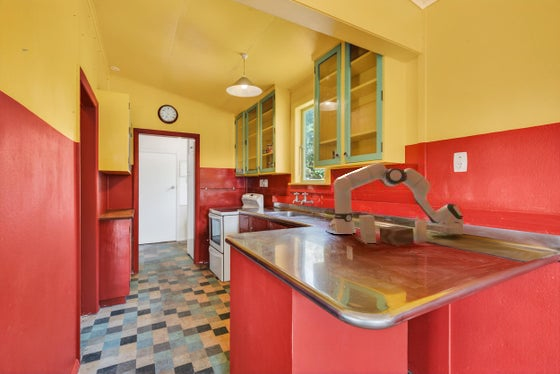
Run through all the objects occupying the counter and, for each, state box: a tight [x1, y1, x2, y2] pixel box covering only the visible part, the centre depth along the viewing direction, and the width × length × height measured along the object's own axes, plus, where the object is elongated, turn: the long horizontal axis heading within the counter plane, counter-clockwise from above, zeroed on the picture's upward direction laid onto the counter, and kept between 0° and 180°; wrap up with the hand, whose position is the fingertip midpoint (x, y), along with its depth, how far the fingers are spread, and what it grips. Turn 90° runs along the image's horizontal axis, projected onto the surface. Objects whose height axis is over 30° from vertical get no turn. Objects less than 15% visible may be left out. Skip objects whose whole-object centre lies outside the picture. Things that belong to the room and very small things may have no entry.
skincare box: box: [358, 214, 377, 244], centre depth 143 cm, size 8×7×16 cm
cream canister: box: [414, 220, 428, 243], centre depth 141 cm, size 6×6×11 cm
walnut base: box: [379, 225, 415, 247], centre depth 140 cm, size 12×12×8 cm
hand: (431, 229), depth 144 cm, fingers open, 8 cm apart
